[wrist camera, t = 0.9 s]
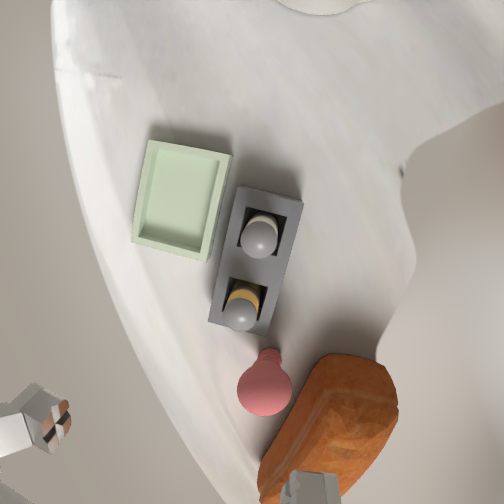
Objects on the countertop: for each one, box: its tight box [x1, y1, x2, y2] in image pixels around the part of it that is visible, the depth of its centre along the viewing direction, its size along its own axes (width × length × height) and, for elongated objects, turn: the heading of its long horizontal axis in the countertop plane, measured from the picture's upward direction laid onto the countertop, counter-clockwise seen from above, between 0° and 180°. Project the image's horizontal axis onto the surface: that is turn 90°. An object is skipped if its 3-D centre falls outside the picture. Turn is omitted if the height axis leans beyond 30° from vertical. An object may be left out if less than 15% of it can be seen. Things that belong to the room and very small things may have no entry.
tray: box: [131, 140, 233, 262], centre depth 40 cm, size 14×11×2 cm
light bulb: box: [237, 348, 292, 416], centre depth 41 cm, size 7×7×12 cm
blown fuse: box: [223, 279, 261, 331], centre depth 39 cm, size 4×4×9 cm
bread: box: [257, 354, 399, 504], centre depth 42 cm, size 14×33×16 cm, turn 163°
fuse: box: [240, 212, 278, 259], centre depth 37 cm, size 4×4×9 cm
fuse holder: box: [208, 185, 304, 337], centre depth 41 cm, size 18×8×4 cm, turn 166°
